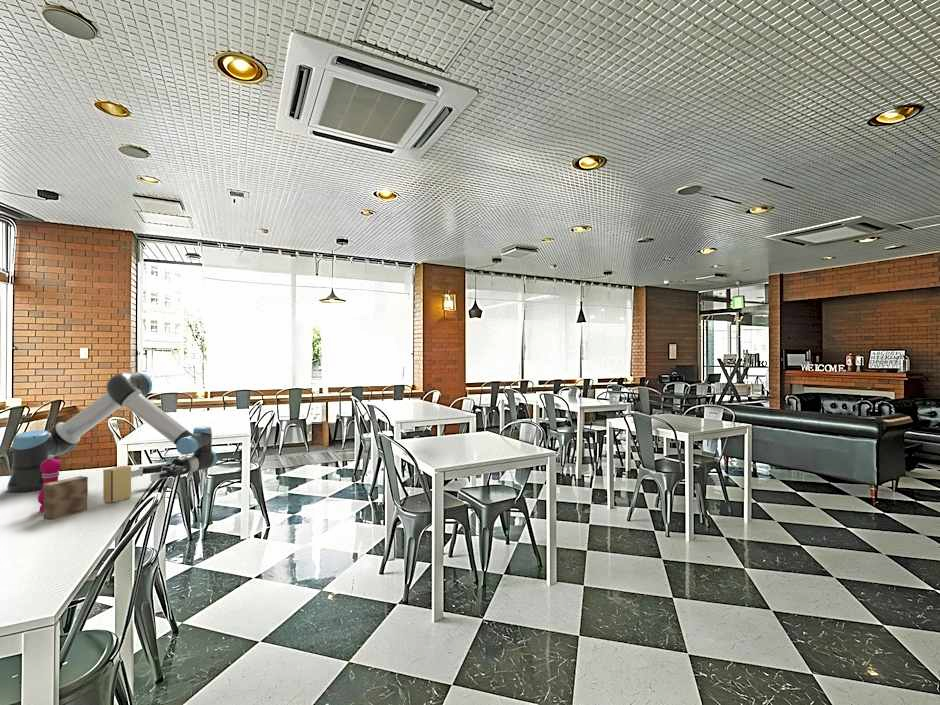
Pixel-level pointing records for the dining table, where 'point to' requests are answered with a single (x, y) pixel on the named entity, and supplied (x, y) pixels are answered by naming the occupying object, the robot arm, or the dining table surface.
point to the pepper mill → (48, 475)
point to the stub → (116, 484)
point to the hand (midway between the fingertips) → (138, 476)
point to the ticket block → (65, 497)
